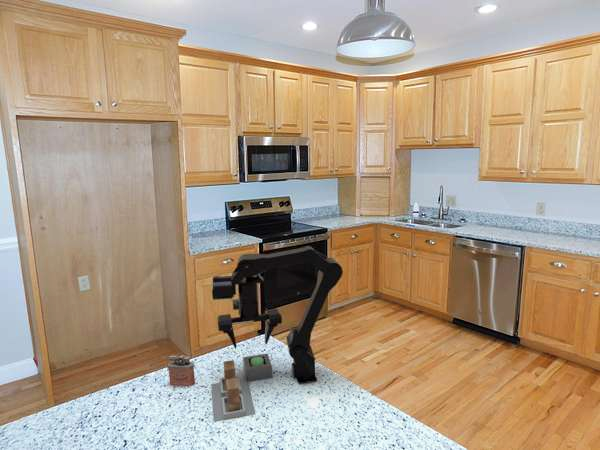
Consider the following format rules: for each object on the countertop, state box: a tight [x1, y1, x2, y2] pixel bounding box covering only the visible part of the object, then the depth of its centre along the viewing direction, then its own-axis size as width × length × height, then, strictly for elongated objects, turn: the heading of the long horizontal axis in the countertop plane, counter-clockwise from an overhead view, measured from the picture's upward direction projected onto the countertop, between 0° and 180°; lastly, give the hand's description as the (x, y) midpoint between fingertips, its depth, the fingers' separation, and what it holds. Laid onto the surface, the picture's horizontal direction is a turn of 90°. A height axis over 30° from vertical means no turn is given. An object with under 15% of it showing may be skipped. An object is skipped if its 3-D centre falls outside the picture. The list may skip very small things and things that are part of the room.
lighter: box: [167, 354, 196, 387], centre depth 119 cm, size 8×3×10 cm, turn 84°
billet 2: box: [226, 378, 240, 412], centre depth 107 cm, size 3×5×8 cm, turn 15°
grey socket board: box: [210, 375, 256, 423], centre depth 112 cm, size 11×18×2 cm, turn 14°
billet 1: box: [222, 360, 237, 391], centre depth 116 cm, size 3×5×8 cm, turn 15°
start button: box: [251, 357, 264, 366], centre depth 124 cm, size 4×4×4 cm
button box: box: [242, 353, 273, 383], centre depth 124 cm, size 8×8×5 cm
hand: (250, 345), depth 119 cm, fingers open, 9 cm apart
